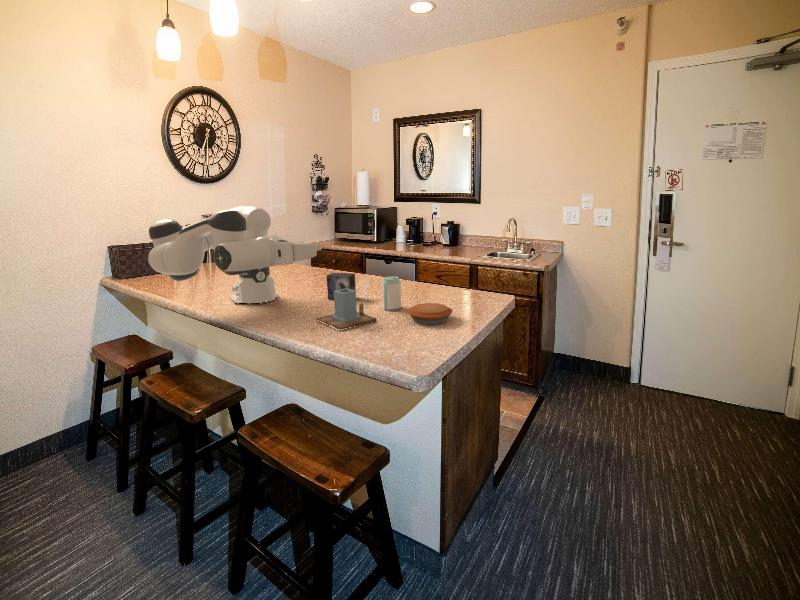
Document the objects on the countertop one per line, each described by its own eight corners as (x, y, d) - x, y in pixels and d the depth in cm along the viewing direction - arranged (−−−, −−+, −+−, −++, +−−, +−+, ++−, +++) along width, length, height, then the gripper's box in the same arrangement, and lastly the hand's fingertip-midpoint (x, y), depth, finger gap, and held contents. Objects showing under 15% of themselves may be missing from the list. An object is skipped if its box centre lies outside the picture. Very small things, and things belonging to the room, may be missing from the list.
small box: (327, 300, 188) (325, 275, 185) (333, 296, 194) (332, 272, 191) (350, 301, 185) (349, 276, 182) (356, 297, 191) (355, 273, 188)
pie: (449, 313, 164) (449, 300, 163) (455, 326, 149) (455, 311, 148) (406, 314, 164) (406, 301, 163) (409, 328, 149) (408, 313, 148)
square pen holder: (331, 318, 157) (329, 291, 154) (348, 314, 162) (347, 287, 159) (343, 322, 152) (341, 294, 149) (361, 318, 156) (359, 290, 154)
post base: (316, 321, 158) (315, 304, 156) (352, 313, 167) (351, 296, 166) (340, 331, 147) (338, 312, 145) (376, 321, 156) (376, 304, 155)
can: (390, 305, 177) (389, 275, 174) (404, 307, 173) (404, 277, 170) (378, 309, 172) (377, 278, 169) (392, 312, 167) (391, 280, 164)
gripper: (255, 258, 141) (293, 252, 150) (292, 265, 127) (331, 258, 136) (253, 237, 139) (292, 233, 149) (290, 242, 125) (330, 237, 135)
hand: (311, 245), depth 142 cm, fingers open, 8 cm apart
